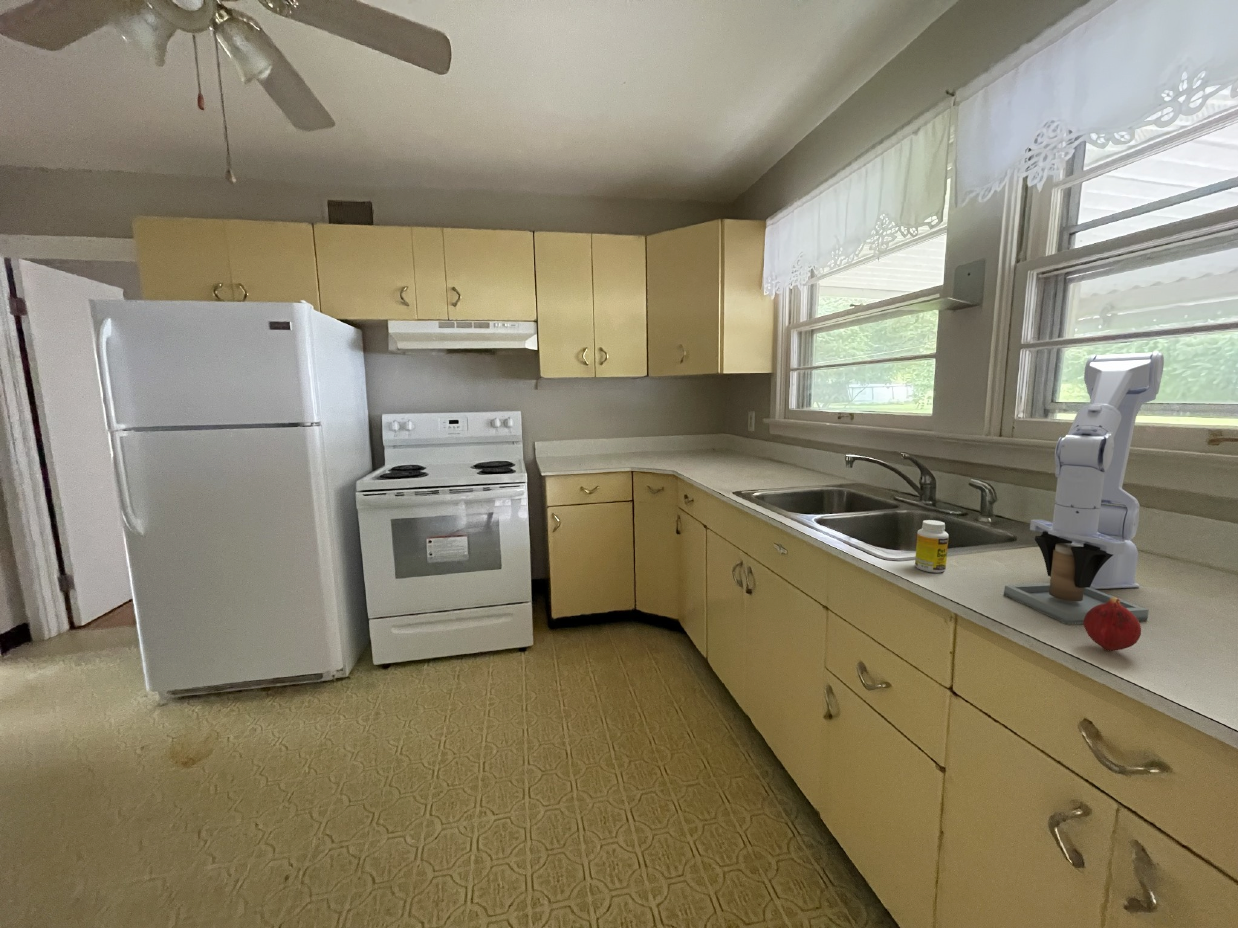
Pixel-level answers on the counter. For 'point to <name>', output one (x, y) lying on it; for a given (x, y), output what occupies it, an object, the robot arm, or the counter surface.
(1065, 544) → the shaker
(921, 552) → the supplement bottle
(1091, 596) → the tray
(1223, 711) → the counter surface
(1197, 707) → the counter surface
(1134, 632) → the onion
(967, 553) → the counter surface
